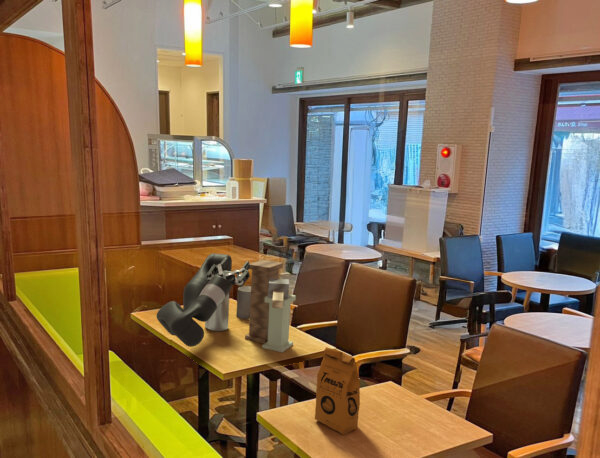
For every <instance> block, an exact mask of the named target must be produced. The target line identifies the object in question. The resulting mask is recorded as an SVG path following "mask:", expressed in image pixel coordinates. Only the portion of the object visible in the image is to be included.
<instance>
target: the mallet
mask: <svg viewBox="0 0 600 458" xmlns="http://www.w3.org/2000/svg"><path fill="white" fill-rule="evenodd" d="M289 292H290V279H289V278H278V279H272V278H270V279H269V289H268V298H273V299H272V308H281V309H283V299H288V294H290V293H289Z"/></svg>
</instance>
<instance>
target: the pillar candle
mask: <svg viewBox="0 0 600 458" xmlns="http://www.w3.org/2000/svg"><path fill="white" fill-rule="evenodd" d="M236 299H237V301H236V314H235V315H236V318H238V319H242V320H250V302H251V285H243V286H242V287H238V288H237V296H236Z"/></svg>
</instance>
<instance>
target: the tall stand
mask: <svg viewBox="0 0 600 458" xmlns="http://www.w3.org/2000/svg"><path fill="white" fill-rule="evenodd" d="M249 264H250V268H249V270H251V280H250V281H251V282H250V283H251V285H250V286H251V302H250V319H249V327H248V328H249V329H248V333H247V334H246V335H244V339H245V340H249V341H252V342H257V343H262V344H265V343H266V342H268V325H269V305H270V303H266V302H265V297H266V296H268V289H269V279H270V278H272V279H280V278H279V276H280V274H279V273H280V269H282V268H284V262H279V261H272V260H267V259H260V260H258V261H257V260H256V261H255V262H251V263H249Z"/></svg>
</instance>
